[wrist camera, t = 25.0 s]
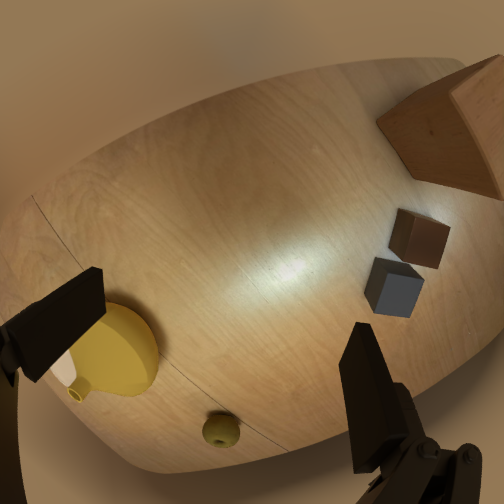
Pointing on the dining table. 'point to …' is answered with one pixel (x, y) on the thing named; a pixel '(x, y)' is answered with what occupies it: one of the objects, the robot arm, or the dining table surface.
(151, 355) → the vase
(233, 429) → the apple
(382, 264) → the slate block
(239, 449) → the dining table surface
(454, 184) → the wooden block
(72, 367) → the plate
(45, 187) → the dining table surface
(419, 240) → the walnut block
